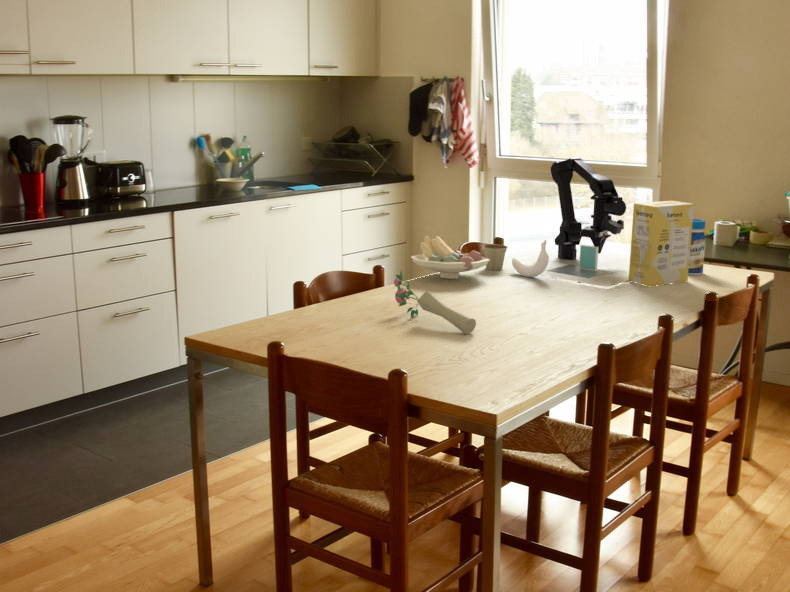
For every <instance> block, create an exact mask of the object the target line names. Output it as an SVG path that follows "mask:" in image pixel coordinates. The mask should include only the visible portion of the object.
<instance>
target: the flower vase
mask: <svg viewBox="0 0 790 592" xmlns="http://www.w3.org/2000/svg"><path fill="white" fill-rule="evenodd" d="M399 273H400V274H395V277H396V278H395V280H394V282H393V285H394V287H397V289H396V292H395V296H394V297H395V301H396V302H397V304H398V307H403V306H405V305H407V304H410V305H411V304H412V303H410V302H407V300H410V299H413V300H415V301H416V302H417V303H416V306H414V307H412V306H411V307H409V308H408V309H407V310H406V311H407V312H406V314H409V312H410V318H411V319H413V317H414V315H417V316H418V315H419V309H418V306H419V307H420V308H421V309H422V310H423V311H426V312H429V313H431V314H434V315H436V316H439V317H441V318H443V319H444V320H446V321H448V322H449V323H450V324H451V325H453V327H455V328H457V329H458V330H459V331H461V332H462V333H464V334H466V335H470V334H471V333H472V332H473V331H474V330H475V329H476V325H477V322H476V319H474V318H472V317H470V316H468V315H466V314H464V313H462V312H459V310H458V311H457V310H455V309H454V308H451V307H450V306H448V305H446V303H444V302H442V301H441V300H440V299H439V298H438V297H436V296H435V295H433V293H431V292H430V291H428V290H425V291H424V292H423V294H422V295H421V296H420V297H418V296H416V294H415V292H414V291H412V290H411V288H410V283H409V281H408V282H407V284H405V283H406V280H405V278H404V277H405V276H404V274H403V272H402V271H400V272H399ZM403 281H404V284H403V283H402V282H403ZM401 285H402V286H404V287H406V289H405V288H404V287H402V288H401ZM413 296H414V297H413ZM414 308H415V309H414Z"/></svg>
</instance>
